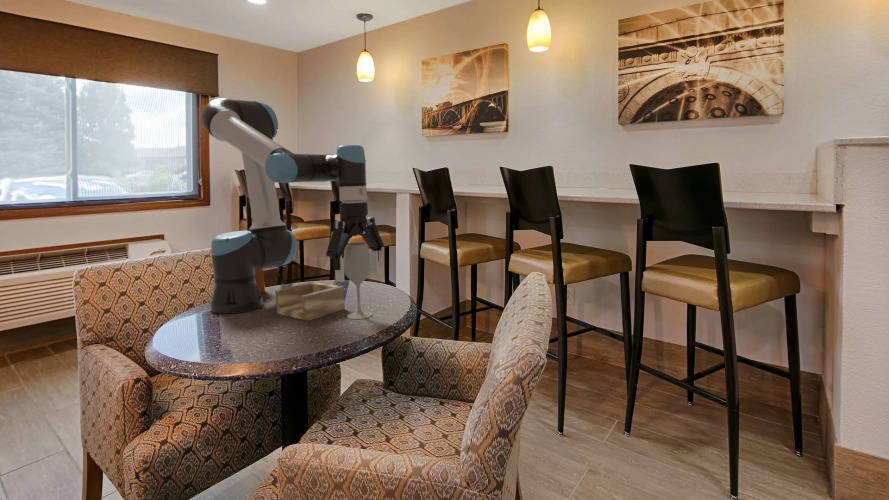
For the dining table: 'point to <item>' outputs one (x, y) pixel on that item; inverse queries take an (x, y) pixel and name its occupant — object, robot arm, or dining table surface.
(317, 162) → the robot arm
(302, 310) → the tan wooden open box
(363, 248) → the wineglass
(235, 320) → the dining table surface
